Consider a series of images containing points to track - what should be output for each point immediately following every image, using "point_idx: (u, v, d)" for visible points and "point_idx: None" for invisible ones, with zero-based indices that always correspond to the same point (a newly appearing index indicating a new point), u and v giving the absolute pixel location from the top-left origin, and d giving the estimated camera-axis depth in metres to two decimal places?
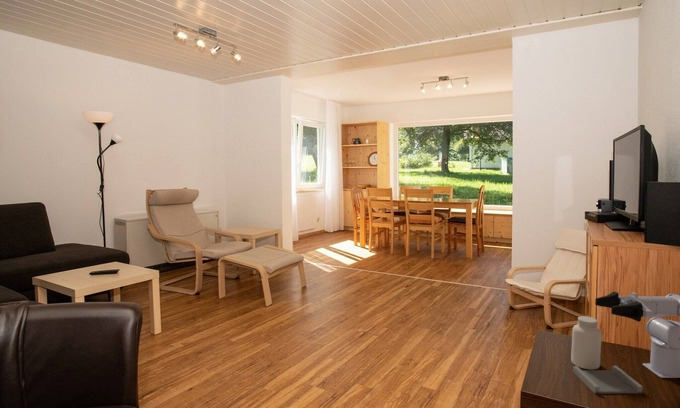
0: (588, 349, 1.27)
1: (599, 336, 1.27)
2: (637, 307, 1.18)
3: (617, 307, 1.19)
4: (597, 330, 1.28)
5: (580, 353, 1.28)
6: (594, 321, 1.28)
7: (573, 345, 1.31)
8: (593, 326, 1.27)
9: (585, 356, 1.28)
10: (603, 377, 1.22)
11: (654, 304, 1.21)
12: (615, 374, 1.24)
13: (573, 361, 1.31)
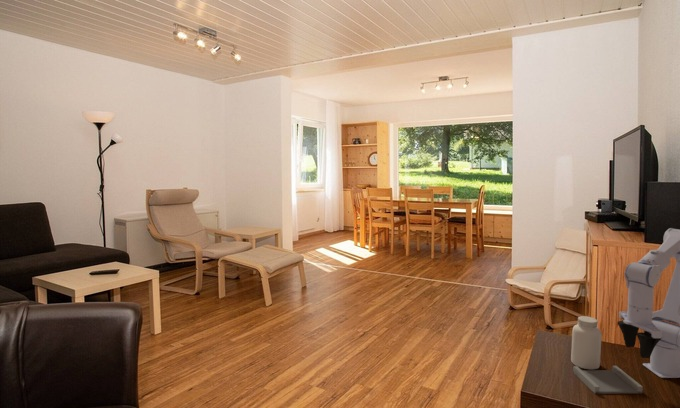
0: (588, 349, 1.27)
1: (599, 336, 1.27)
2: (645, 339, 1.11)
3: (643, 353, 1.13)
4: (597, 330, 1.28)
5: (580, 353, 1.28)
6: (594, 321, 1.28)
7: (573, 345, 1.31)
8: (593, 326, 1.27)
9: (585, 356, 1.28)
10: (603, 377, 1.22)
11: (641, 310, 1.13)
12: (615, 374, 1.24)
13: (573, 361, 1.31)
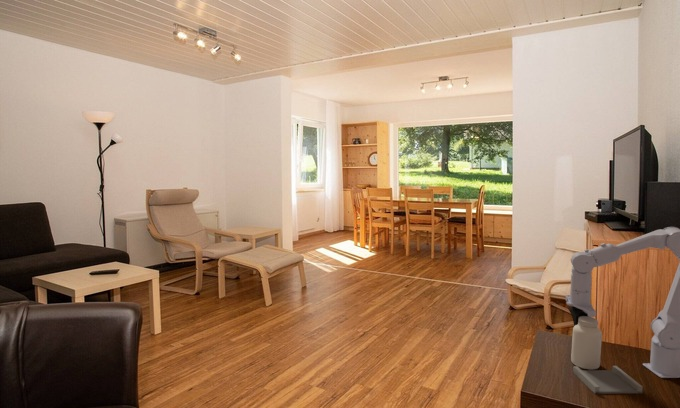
0: (588, 349, 1.27)
1: (600, 336, 1.26)
2: (577, 314, 1.32)
3: None
4: (598, 330, 1.27)
5: (580, 353, 1.28)
6: (595, 321, 1.27)
7: (573, 345, 1.30)
8: (593, 327, 1.27)
9: (585, 356, 1.27)
10: (603, 377, 1.22)
11: (580, 293, 1.31)
12: (615, 374, 1.24)
13: (573, 361, 1.31)
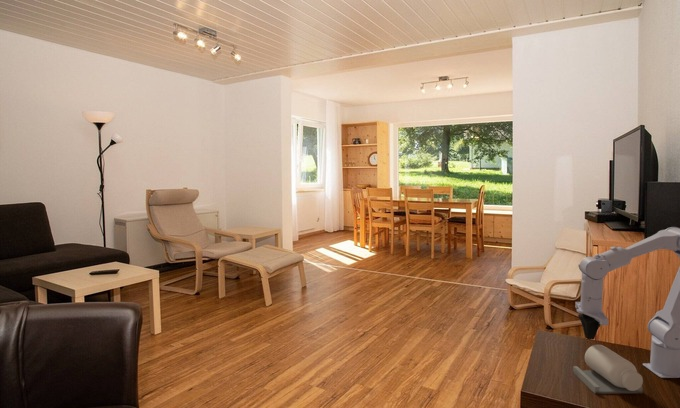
0: None
1: None
2: (589, 323, 1.26)
3: (587, 335, 1.28)
4: None
5: (595, 369, 1.22)
6: (635, 388, 1.13)
7: (598, 364, 1.21)
8: None
9: None
10: (603, 377, 1.22)
11: (591, 300, 1.25)
12: None
13: (586, 356, 1.26)
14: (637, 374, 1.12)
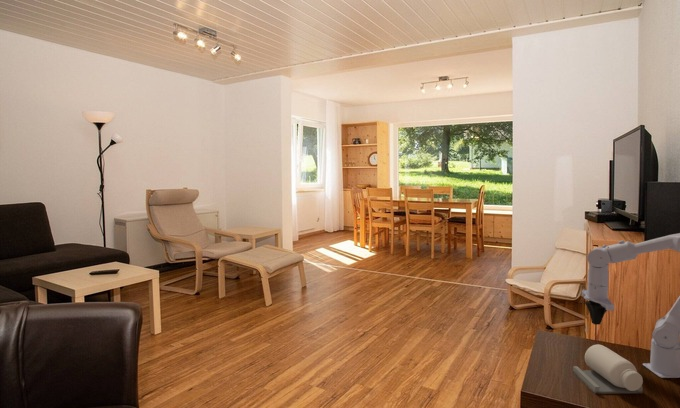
0: None
1: None
2: (596, 309, 1.34)
3: (594, 321, 1.36)
4: None
5: (595, 369, 1.22)
6: (635, 388, 1.13)
7: (598, 364, 1.21)
8: None
9: None
10: (603, 377, 1.22)
11: (598, 287, 1.33)
12: None
13: (586, 356, 1.26)
14: (637, 374, 1.12)
